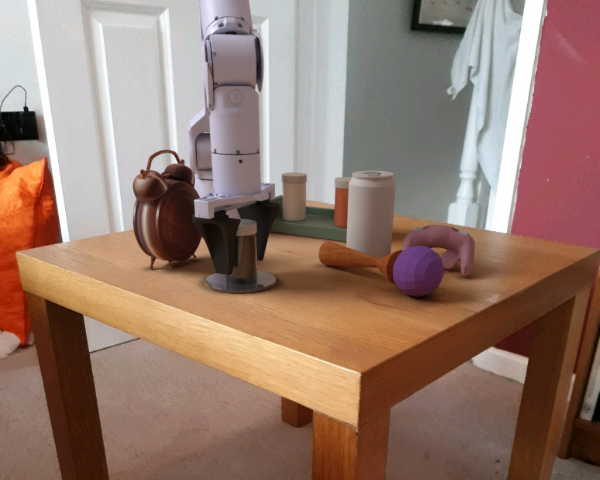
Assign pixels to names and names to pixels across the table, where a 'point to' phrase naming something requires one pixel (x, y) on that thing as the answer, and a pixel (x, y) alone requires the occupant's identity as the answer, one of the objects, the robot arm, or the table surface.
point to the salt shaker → (294, 196)
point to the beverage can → (371, 212)
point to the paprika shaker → (341, 201)
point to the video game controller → (445, 244)
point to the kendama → (393, 266)
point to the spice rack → (310, 224)
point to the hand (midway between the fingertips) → (240, 266)
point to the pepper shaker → (245, 254)
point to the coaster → (222, 285)
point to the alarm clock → (166, 212)
